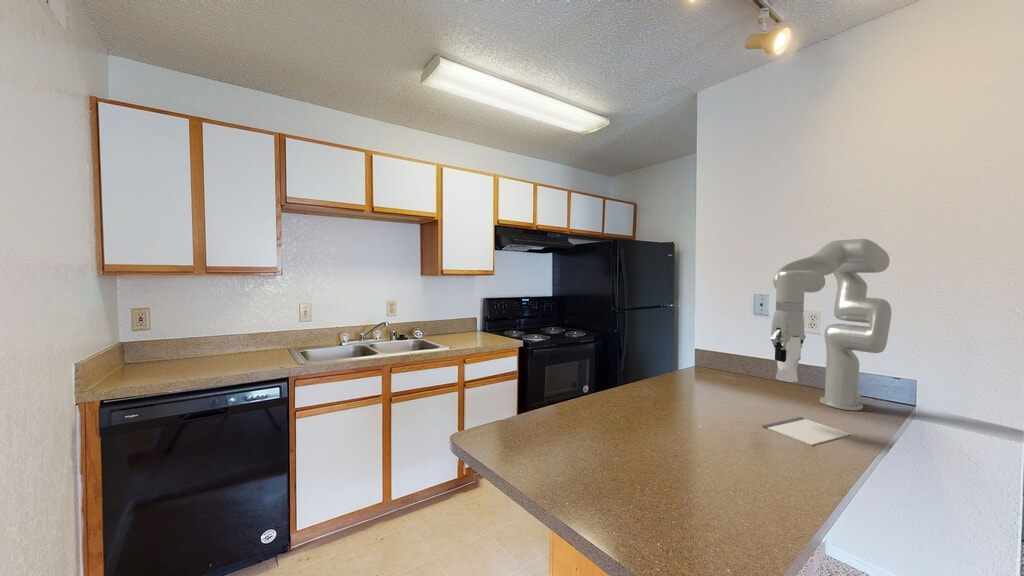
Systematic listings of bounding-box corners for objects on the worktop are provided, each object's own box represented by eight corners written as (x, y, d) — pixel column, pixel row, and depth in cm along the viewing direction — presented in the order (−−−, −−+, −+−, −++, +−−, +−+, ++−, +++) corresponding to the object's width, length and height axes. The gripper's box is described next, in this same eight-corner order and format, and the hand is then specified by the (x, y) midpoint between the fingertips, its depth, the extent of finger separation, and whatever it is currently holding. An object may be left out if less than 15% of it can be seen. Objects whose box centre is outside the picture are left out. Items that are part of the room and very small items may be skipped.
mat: (800, 418, 129) (800, 417, 129) (850, 435, 116) (850, 433, 116) (762, 426, 122) (762, 425, 122) (811, 445, 108) (811, 444, 108)
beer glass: (791, 377, 128) (793, 334, 127) (804, 383, 121) (806, 337, 120) (769, 376, 129) (771, 333, 128) (781, 382, 122) (783, 336, 121)
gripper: (794, 306, 130) (792, 356, 131) (760, 307, 124) (758, 359, 125) (818, 307, 123) (816, 360, 124) (783, 309, 117) (781, 364, 118)
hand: (787, 359), depth 125 cm, fingers closed on beer glass, 6 cm apart
